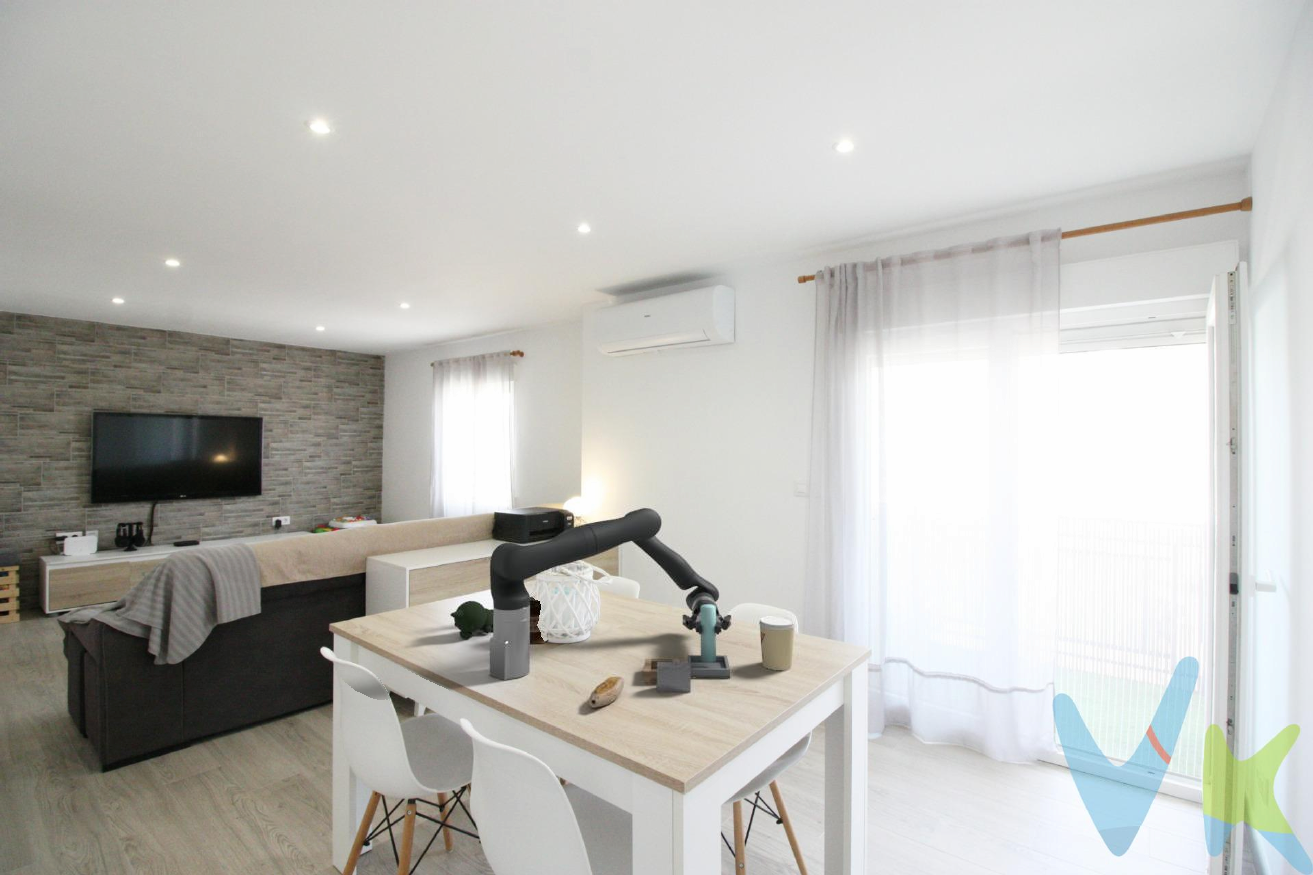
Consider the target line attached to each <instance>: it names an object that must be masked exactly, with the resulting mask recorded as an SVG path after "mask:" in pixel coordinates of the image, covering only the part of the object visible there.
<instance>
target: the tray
mask: <svg viewBox="0 0 1313 875" xmlns="http://www.w3.org/2000/svg"><path fill="white" fill-rule="evenodd" d="M728 659H729V658H728V656H727V655H724V654H723V655H722V654H720V655H719V654H716V661H715V662H711V663H707V662H703V661H701V654H695V655H694V654H687V659H686V660H687V661H686V662H690V666H691V679H693V678H695V679H697V678H698V679H702V678H703V679H731V666H730V663H729V660H728Z"/></svg>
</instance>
